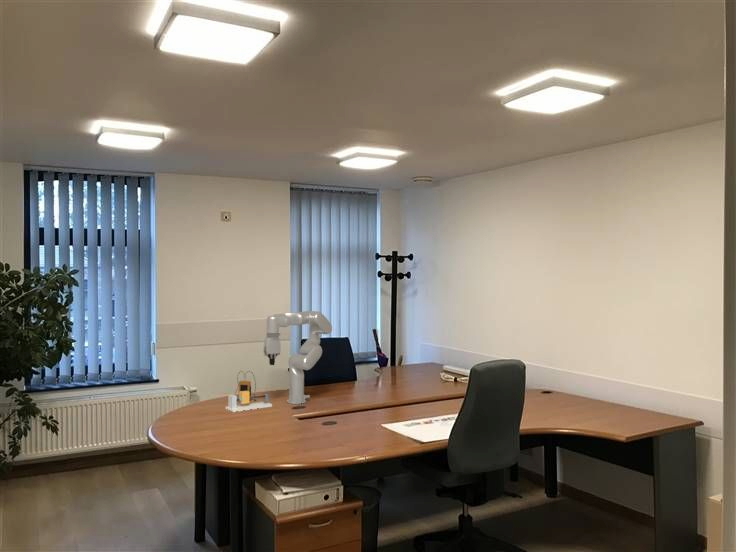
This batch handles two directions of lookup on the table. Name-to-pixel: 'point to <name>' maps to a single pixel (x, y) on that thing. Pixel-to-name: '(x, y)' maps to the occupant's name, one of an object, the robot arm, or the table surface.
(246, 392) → the sleeve
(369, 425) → the table surface
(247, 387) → the multimeter
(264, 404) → the board
